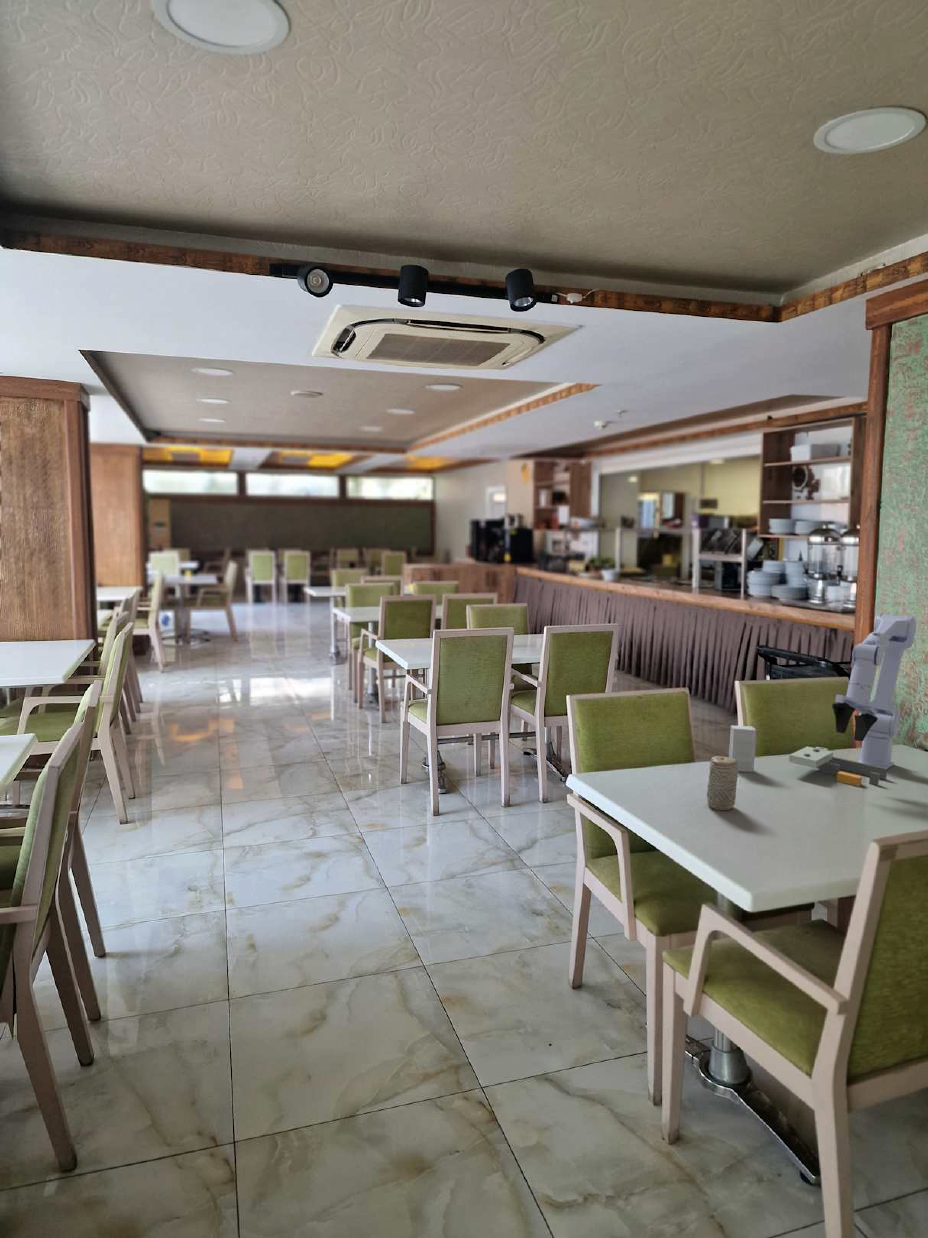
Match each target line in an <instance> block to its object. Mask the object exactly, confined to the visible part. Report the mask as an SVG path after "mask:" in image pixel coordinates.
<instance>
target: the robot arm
mask: <svg viewBox="0 0 928 1238" xmlns="http://www.w3.org/2000/svg"><path fill="white" fill-rule="evenodd" d="M916 629H917V620H916V618H915V617H914V616H901V615H892V614H891V615H890V614H883V613H879V614H878V615H876V616H875V618H874V623H873V631H872V632H870V633H869V634H868V635H867V636H866V637H865V638H864V640H863V641H862V643H861V642H859V643H858V644H855V645H854V647H853V649H852V652H851V663H850V668H851V674H850V678H849V682H848V686H847V691H846V695H844V694H836V696H835V700H834V702H833V703H832V710H833V713H834V718H835V719H834V720H835V731H836V733H839V734H846V731H847V729H848V725H849V723H850V720H851V717H852V716H853V717H854V721H855V728H854V737H853V738H854V741H858V742H862V743H861V752H860V759H857V761H856V762H860V763H865V764H869V765H874V766H878V767H883V768H887V770H888V769H889V768H890V767H892V766H894V765H895V764H896V763H895V762H894V761H892V756H893V755H892V754H893V744H894V743H893V742H894V741H893V739H892V738H894V737H895V736H897V734H898V733H899V730H900V723H901V722H900V720H901V713H900V710H899V709H898V708H897V707H896V706H895V705H894V704H893V700H894V695H895V689H896V685H897V681H898V676H899V672H900V667H901V663H902V658H903V655H904V652H905V650H907V649H910V648H912V645H913V643H914V641H915V640H914V639H915V635H916V631H917V630H916ZM879 667H880V670H879V675H878V678H877V683H876V688H875V693H874V697H873V699H872V700H871V698H872V693H873V688H874V684H875V679H876V675H877V669H878V668H879ZM855 711H856V712H858V713H859V714H854V715H853V713H854V712H855Z"/></svg>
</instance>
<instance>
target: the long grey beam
mask: <svg viewBox="0 0 928 1238" xmlns="http://www.w3.org/2000/svg"><path fill="white" fill-rule="evenodd" d="M840 770H841V771H843V772H848V773H852V774H853V773H854V774H856V775H861V776H862V775H863V776H867V777H869V780H868V781H869V783H868V784H870V785H874V786H879V783H880V780H884V781H886V780H887V776H888V769H887V768H883V767H878V766H874V765H869V764H865V763H860V762H857V761H856V760H850V759H847V758H842V757H837V756H833V758H832V759H831V760H830V761H828V762H826V763H824V764H822V765H820V766H819V768H818V772H819V773H823V772H824V773H823V774H828V775H832V776H835V775H836V777H837V773H839V772H840Z"/></svg>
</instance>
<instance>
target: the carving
mask: <svg viewBox="0 0 928 1238" xmlns="http://www.w3.org/2000/svg"><path fill="white" fill-rule="evenodd" d="M708 775H709V776H708V781H707V791H706V798H707V799H706V801H707V805H708V806H709V808H711V809H712V810H718V811H727V810H730V809H732V808H733V807H734V806H735V805H736V799H737V796H736V795H737V783H738V778H739V771H738V763H737V761H736V759H734V758H730V757H729V756H721V755H720V756H718V755H717V756H716V755H715V756H713V757H711V758H710V762H709V774H708Z"/></svg>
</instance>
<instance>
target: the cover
mask: <svg viewBox="0 0 928 1238" xmlns="http://www.w3.org/2000/svg"><path fill="white" fill-rule="evenodd" d="M833 755H834V752H833V751H830V750H829V748H825V747H819V746H816V747H812V746H805V747H804V748H801V749H798V750H797V751H795V752H793V753H790V754H789V758H788V762H789V763H793V764H795V765H800V766H806V767H808V768H814V769H816V768H818V769H819V766H820V765H822V764H824V763H826V762H828V761H830V760H831V759H832V758H833V757H834V756H833Z"/></svg>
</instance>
